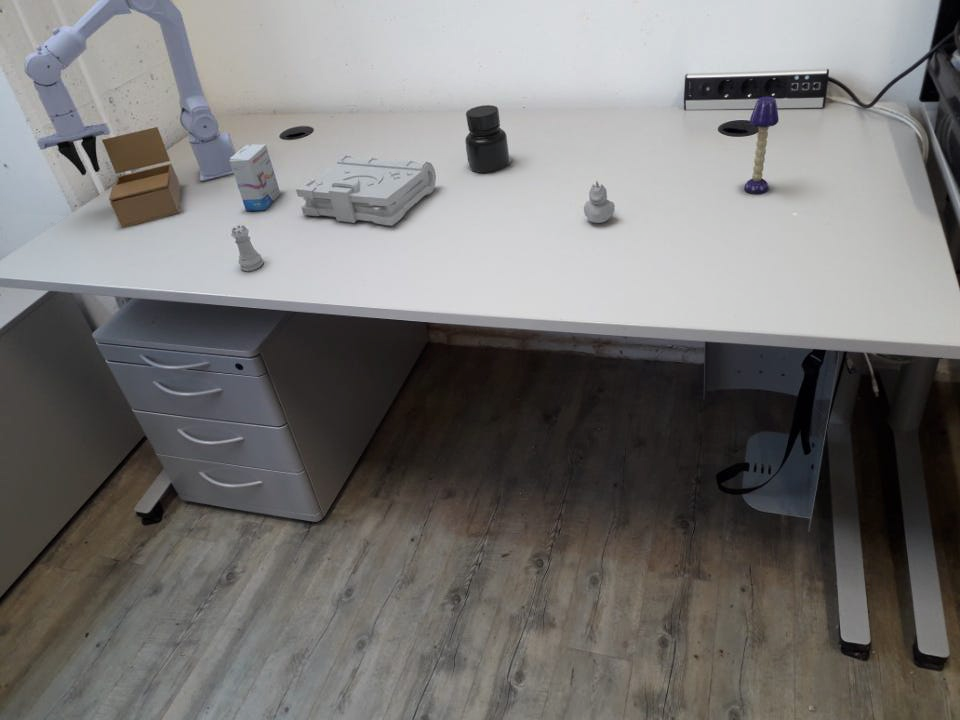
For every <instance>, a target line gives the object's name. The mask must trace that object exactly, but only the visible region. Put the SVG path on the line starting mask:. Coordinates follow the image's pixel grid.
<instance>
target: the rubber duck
mask: <svg viewBox="0 0 960 720" xmlns="http://www.w3.org/2000/svg"><path fill="white" fill-rule="evenodd" d="M588 196H589V200H587V201H586V202H585V203H584V206H583V214H584V215H585V217H586V218H587V220H588V221H589V222H591V223H595V224H602V223H605V222H607V221H608V220H609V219H610V218H612V216H613V215H614V212H615V209H616V208H615V207H616V205H615V203H614V202H613V201H611V200H609V199H608V192H607V188H606V187H605V186H604V185H603V184H602V183H600V184H599V182H598V180H596V182H595V184H594V183H593V184H592V185H591V187H590V190H589V191H588Z"/></svg>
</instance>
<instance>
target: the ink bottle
mask: <svg viewBox="0 0 960 720" xmlns="http://www.w3.org/2000/svg"><path fill="white" fill-rule="evenodd" d="M465 117H466V123H467V129H468V131H469V132H468V134H467V135H466V136H465V140H464V141H465V142H464V143H465V150H466V157H467V162H468V166H469V168H470V170H471V171H473V172H476V173H481V174H482V173H484V174H485V173H487V174H488V173H493V172H497V171H499V170H502V169H504V168H506V167H507V166H508V165H509V164H510V152H509V146H508V145H509V144H508V137H507V133H506V131H505V130H503V128H501V120H500V112H499V108H498V106H496V105H490V104H486V105H483V104H482V105H479V106H474V107H471V108H470V109H468V110H466V112H465Z"/></svg>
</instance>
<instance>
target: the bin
mask: <svg viewBox="0 0 960 720" xmlns="http://www.w3.org/2000/svg"><path fill="white" fill-rule="evenodd" d="M164 187H167V188H165V189H161V190H157V191H153V192H152V190H156V189H160V188H164ZM181 193H182V185H181V183H180V181H179V179H178V176H177V173H176V171H175V169H174V167H173V163H168V164H164V165H160V166H159V165H158V166H155V167H152V168H147V169H143V170H139V171H135V172H131V173H127V174H122V175H119V176H116V179H115V183H114V185H112V186H111V191H110V193H109V196H108V200H109V201H110V202H109V203H110V206H111V207H112V210H113V212H114V214H115V216H116V218H117V220H118V222H119V224H120V227H121V228H125V227H130V226H133V225H134V226H135V225H138V224H141V223H142V224H143V223H146V222H151V221H154V220H157V219H161V218H167V217H170V216H174V215H178V214H180V208H181V207H180V205H181Z"/></svg>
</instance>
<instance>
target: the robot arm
mask: <svg viewBox="0 0 960 720" xmlns="http://www.w3.org/2000/svg"><path fill="white" fill-rule="evenodd" d="M132 10H133V11H135V12H138V13H139V14H142V15H145V16H147V17H149V19H152V20H153V21H155V22H156V23H158V24H159V26H160V30H161V34H162V37H163V41H164V44H165V49H166V52H167V55H168V58H169V62H170V66H171V70H172V73H173V77H174V80H175V84H176V88H177V91H178V95H179V107H180V113H179V122H180V125H181V127H182V128H183V129H184V130H185V131H187V132H188V141H189V145H190V147H191V149H192V152H193V155H194V157H195V160H196V162H197V165H198V167H199V181H200V182H204V181H208V180H213V179H216V178H220V177H225V176H228V175H232V174H233V175H234V173H233V170H232V167H231V164H230V160H231V159H230V158H231V157H232V156H233V155H234V154H236V153H237V152H236V149H235V146H234V143H233V141H232V138H231V135H230V133H229V132H228V131H225V132H220V131H219V122H218V120H217V118H216V117H215V116H214V115H213V113H212V112H211V109H210V105H209V103H208V102H207V100H206V98H205V97H204V95H203V90H202V85H201V83H200V79H199V74H198V71H197V68H196V67H197V66H196V63H195V59H194V56H193V53H192V49H191V45H190V41H189V37H188V33H187V29H186V27H185V26H186V25H185V22H184V18H183V15H182V12H181V10H180V9H179V8H178V7H177V5H175V4H174V3H173V2H172V0H97V1H96V2H95V3H94V4H93V5H92V6H91V7H90V8H89V9H88V10H87V12H85V13H84V15H82V16H81V18H80V19H79V20H78V21H77V22H76V23H74V25H73V26H67V25H62V26H61V27H60V28H58V27H54V28H53V29H52V30H51V33H52V35H51V36H50V37H49V38H48V39H47V40H45V42H44V43H42V44H41V45H39V44H37V45H36V46H35V48H34V49H35V50H36V52H31V53H29V54H28V55H26V57H25V59H24V62H23V67H24V70H23V71H24V73H25V74H26V76H28V77H29V79H31V80H33V81H32V83H33V84H34V88H35V91H37V95H38V98H39V100H40V102H41V104H42V106H43V108H44V110H45V111H46V115H47V116H48V118H49V121H50V122H51V124H52V126H53V128H54V130H55V132H56V133H53V134H50V135H47V136H43V137H40V138H38V139H37V140H36V143H37V145H38V147H39V149H40V150H41V151H43V150H46V149H47V148H51V147H56V146H57V148H58V149H57V150H58V153H60V154H61V155H62V156H64V157H65V158H66V159H67V160H68V161H69V162H71V164H72V165H73V166H74V167H75V168H76V169H77V171H79V173H80V175H82V176H86V175H87V169H86V167H85V164H84V162H83V161H82V160H81V157H80V155H79V152H78V150H77V147H76V145H75V143H74V142H77V141H81V143H80V145H81V148H82V149H83V150H84V152H85V153H86V155H87V158H88V159H89V161H90V163H91V166H92V169H93V170H94V173H98V172H100V170H101V168H100V165H99V160H98V155H97V154H98V153H97V137H99V136H103V135H104V136H107V135H110V134H111V130H110V127H109V125H108V123H107V122H105V123H99V124H91V125H85V124H84V121H83V119H82V117H81V115H80V113H79V111H78V109H77V107H76V104H75V103H74V101H73V98H72V96H71V94H70V91H69V90H68V88H67V86H65V84H64V81H63V80H62V77H61V76H62V71H63V70H66V69H67V68H68V67H69V66H71V64H73V63H74V62H75V61H76V60H77V59H78V58H79V57H80V56H81V55H82V54H83V53H84V52H86V51H87V40H88V39H89V38H90V37H91V36H92V35H94V34H95V33H96V32H97V31H98V30H100V29H101V27H103V26H104V25H105V24H107V23H108V22H109V21H110V20H111V19H112V18H114V17H115V16H120V15H130V14H132Z"/></svg>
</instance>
